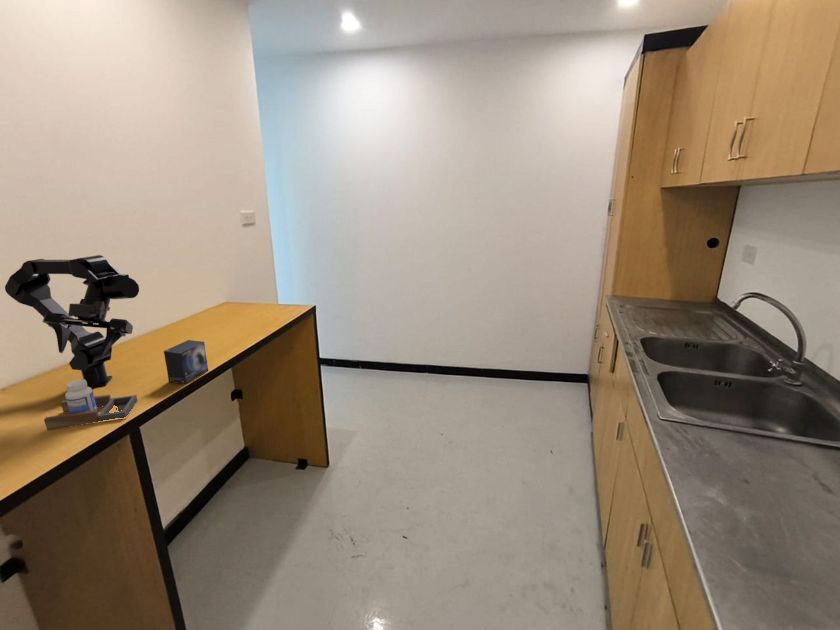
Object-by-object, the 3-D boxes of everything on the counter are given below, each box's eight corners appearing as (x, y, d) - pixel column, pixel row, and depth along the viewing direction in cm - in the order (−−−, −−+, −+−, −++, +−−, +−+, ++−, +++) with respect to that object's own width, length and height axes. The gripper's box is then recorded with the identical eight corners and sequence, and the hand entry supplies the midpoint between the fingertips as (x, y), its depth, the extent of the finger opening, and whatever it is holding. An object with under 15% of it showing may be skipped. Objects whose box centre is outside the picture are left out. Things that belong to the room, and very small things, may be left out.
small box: (186, 384, 123) (180, 352, 120) (167, 382, 124) (161, 351, 121) (209, 370, 133) (205, 340, 130) (192, 368, 134) (187, 339, 131)
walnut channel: (65, 410, 108) (62, 400, 107) (112, 404, 111) (109, 394, 110) (47, 430, 99) (43, 419, 98) (98, 422, 102) (95, 412, 101)
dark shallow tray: (113, 404, 111) (111, 398, 111) (137, 400, 113) (136, 394, 113) (99, 422, 102) (97, 416, 102) (126, 418, 104) (124, 412, 104)
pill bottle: (85, 410, 108) (76, 377, 105) (103, 411, 108) (95, 378, 105) (65, 420, 103) (56, 386, 100) (84, 422, 102) (75, 387, 100)
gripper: (41, 284, 103) (21, 343, 98) (126, 294, 108) (111, 350, 103) (62, 299, 113) (44, 353, 108) (138, 307, 118) (125, 359, 113)
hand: (81, 354), depth 108 cm, fingers open, 9 cm apart
